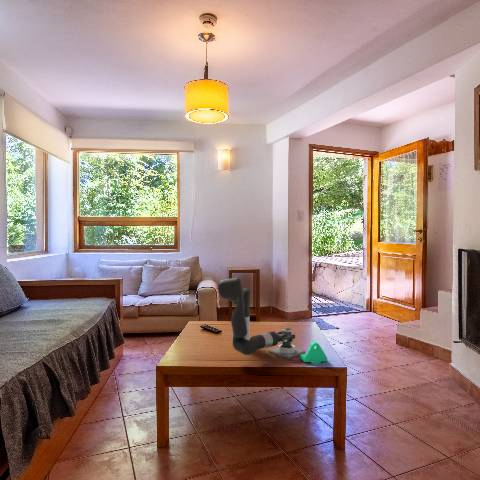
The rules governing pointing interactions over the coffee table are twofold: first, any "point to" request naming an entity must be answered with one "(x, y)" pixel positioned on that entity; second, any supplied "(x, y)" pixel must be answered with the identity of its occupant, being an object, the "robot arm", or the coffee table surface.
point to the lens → (287, 332)
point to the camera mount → (314, 354)
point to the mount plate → (297, 352)
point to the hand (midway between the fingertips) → (288, 334)
